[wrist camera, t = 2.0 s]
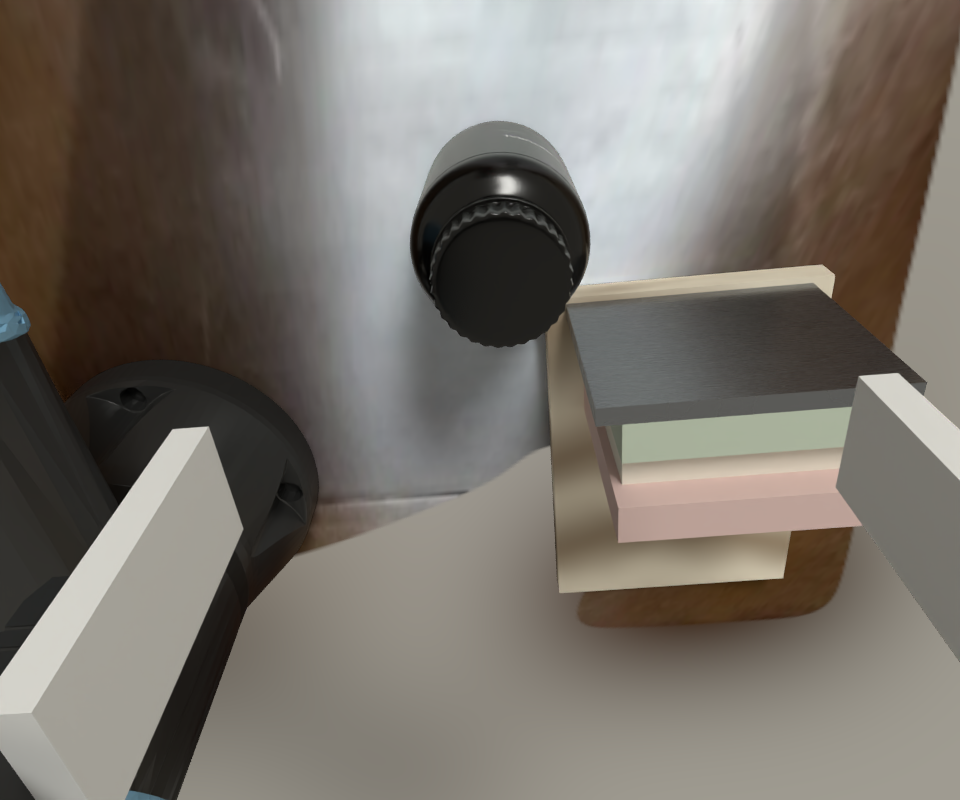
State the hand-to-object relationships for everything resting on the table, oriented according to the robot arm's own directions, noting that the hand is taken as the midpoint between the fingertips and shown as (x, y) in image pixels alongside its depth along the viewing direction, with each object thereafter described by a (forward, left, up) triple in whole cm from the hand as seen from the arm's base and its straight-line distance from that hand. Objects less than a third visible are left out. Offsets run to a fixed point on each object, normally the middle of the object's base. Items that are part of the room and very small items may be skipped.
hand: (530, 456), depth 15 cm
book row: (0, -12, -20) cm, 24 cm away
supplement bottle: (0, 0, -22) cm, 22 cm away
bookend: (+2, -10, -20) cm, 23 cm away
